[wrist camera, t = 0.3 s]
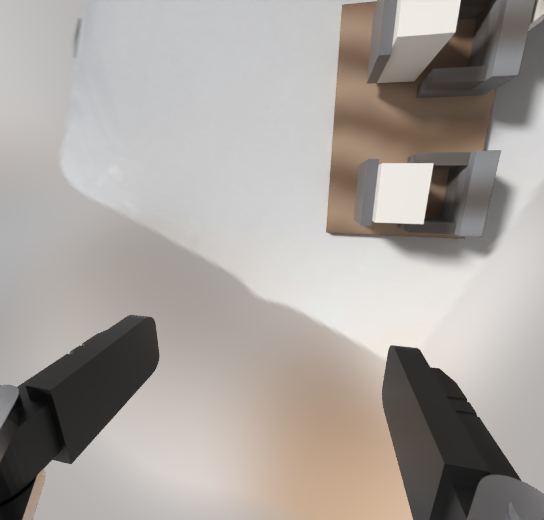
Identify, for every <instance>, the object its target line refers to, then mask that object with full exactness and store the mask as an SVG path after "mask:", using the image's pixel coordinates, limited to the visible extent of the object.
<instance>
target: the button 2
mask: <svg viewBox="0 0 544 520" xmlns="http://www.w3.org/2000/svg"><path fill="white" fill-rule="evenodd" d="M460 2H461V0H377V4H376V7H375V11H374V14H373V24H372V35H371V45H370V55H369V66H368V76H367V84H372V83H391V82H411V81H415V80H416V79H417V78H418V76H419V75H420V74H421V73H422V72H423V71H424V69H425V68H426V67H427V66H428V65H429V63H430V62H431V61H432V60H433V59H434V57H435V56H436V55H437V54H438V53H439V51H440V50H441V49H442V48H443V47H444V45H445V44H446V43H447V42H448V41H449V40H450V38H451V37H452V36H453V35H454V34H455V32H456V26H457V20H458V14H459V8H460Z"/></svg>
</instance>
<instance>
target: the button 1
mask: <svg viewBox="0 0 544 520" xmlns="http://www.w3.org/2000/svg"><path fill="white" fill-rule="evenodd" d="M433 164H434V163H382V164H379V159H367V160H365V161H364V162H363V163H361V164H360V165H359V169H358V179H357V189H356V200H355V210H354V220H355V221H356V222H357V223H358V224H360V225H361V226H372V221H373V222H375V223H403V224H424V218H425V212H426V206H427V200H428V194H429V188H430V182H431V176H432V170H433Z"/></svg>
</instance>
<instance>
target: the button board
mask: <svg viewBox="0 0 544 520" xmlns="http://www.w3.org/2000/svg"><path fill="white" fill-rule="evenodd" d="M376 4H377V1H375V2H365V3H355V4H346V5H342V16H341V30H340V44H339V58H338V72H337V86H336V100H335V115H334V129H333V143H332V157H331V171H330V185H329V199H328V213H327V228H326V232H329V233H351V234H374V235H396V236H419V237H441V238H464V239H465V236H473V237H482V232H483V228H484V223H485V219H486V215H487V210H488V206H489V201H490V197H491V193H492V188H493V184H494V179H495V175H496V171H497V166H498V162H499V157H500V153H501V150H489V151H483V149H484V144H485V139H486V135H487V130H488V125H489V120H490V116H491V111H492V106H493V101H494V97H495V92H496V88H497V87H499V86H500V85H502V84H504V83H506V82H507V81H509V80H511V79H512V78H514V77H516V76H517V75H518V74H519V69H520V65H521V61H522V56H523V52H524V47H525V43H526V39H527V34H528V31H530V30H531V29H532V28H534V27H535V26H536V25H537V24H539V23H540V22H541V21H543V20H544V0H461V2H460V8H459V14H458V20H457V26H456V32H455V34H454V35H453V36H452V37H451V38H450V40H449V41H448V42H447V43H446V44H445V45H444V47H443V48H442V49H441V50H440V51H439V53H438V54H437V55H436V56H435V57H434V59H433V60H432V61H431V62H430V63H429V65H428V66H427V67H426V68H425V69H424V71H423V72H422V73H421V74H420V75H419V76H418V78H417V79H416V80H415V81H411V82H391V83H372V84H367V76H368V66H369V55H370V45H371V35H372V24H373V14H374V11H375V7H376ZM367 159H379V164H382V163H434V164H433V170H432V176H431V182H430V188H429V194H428V200H427V206H426V212H425V218H424V224H403V223H375V222H373V221H372V226H361V225H360V224H358V223H357V222H356V221H355V220H354V210H355V200H356V189H357V179H358V169H359V165H360V164H361V163H363V162H364V161H365V160H367Z"/></svg>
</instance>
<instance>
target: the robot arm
mask: <svg viewBox="0 0 544 520" xmlns="http://www.w3.org/2000/svg"><path fill="white" fill-rule="evenodd" d="M158 361H159V349H158V340H157V332H156V325H155V321H154V319H153V318H152V317H146V316H137V315H129V316H127V317H126V318H124V319H123V320H121V321H120V322H118V323H117V324H115V325H114V326H112V327H111V328H110V329H108V330H106V331H103V332H101V333H98V334H96V335H95V336H93V337H92V338H90V339H89V340H87V341H86V342H84V343H83V344H82V346H78V347H77V348H75V349H74V350H72V351H71V352H70V354H66V355H65V356H63V357H62V358H60V359H59V360H57V361H56V362H54V363H53V364H51V365H50V366H48V367H47V368H45V369H44V370H42V371H41V372H39V373H38V374H36V375H35V376H33V377H32V378H30V379H28V380H27V381H26V382H24V383H22V384H21V385H19V386H18V387H16V386H13V385H0V520H33V518H34V514H35V511H36V508H37V504H38V501H39V498H40V494H41V491H42V487H43V485H44V481H45V470H44V468H45V466H46V465H47V464H48V463H49V462H50V461H51V460H56V461H60V462H64V463H69V464H72V463H73V462H74V460H75V459H76V458H77V457H78V456H79V455H80V454H81V453H82V452H83V450H84V449H85V448H86V447H87V446H88V445H89V444H90V443H91V442H92V440H93V439H94V438H95V437H96V436H97V434H99V432H101V430H102V429H103V428H104V427H105V426H106V425H107V424H108V423H109V421H110V420H111V419H112V418H113V417H114V416H115V415H116V414H117V413H118V411H119V410H120V409H121V408H122V407H123V406H124V405H125V404H126V403H127V401H128V400H129V399H130V398H131V397H132V396H133V395H134V394H135V393H136V391H137V390H138V389H139V388H140V387H141V386H142V385H143V384H144V383H145V381H146V380H147V379H148V378H149V377H150V376H151V375H152V373H153V372H154V371H155V369H156V367H157V365H158ZM382 400H383V408H384V412H385V416H386V419H387V423H388V427H389V431H390V435H391V438H392V442H393V446H394V449H395V453H396V457H397V461H398V464H399V468H400V472H401V476H402V479H403V483H404V487H405V490H406V494H407V497H408V501H409V505H410V509H411V513H412V516H413V520H544V494H543V493H542V492H540V491H538V490H537V489H535V488H534V487H532V486H530V485H528V484H527V483H524V482H522V481H521V479H520V478H519V476H518V475H517V473H516V472H515V470H514V469H513V467H512V466H511V464H510V463H509V461H508V460H507V458H506V457H505V455H504V454H503V453H502V451H501V449H500V448H499V446H498V445H497V443H496V442H495V440H494V439H493V437H492V436H491V434H490V433H489V431H488V430H487V429H486V427H485V425H484V424H483V422H482V421H481V419H480V418H479V417H477V415H476V412H475V410H474V409H473V407H472V406H471V404H470V403H469V402H467V398H466V397H465V395H464V394H463V393H462V391H461V389H460V388H459V387H458V385H457V384H456V382H454V381H453V380H452V379H451V378H450V377H449V376H447V375H446V374H445V373H444V372H443V371H442V370H440V369H438V368H430V366H429V365H428V363H427V361H426V360H425V358H424V356H423V354H422V353H421V351H420V350H419V349H418V348H411V347H402V346H393V345H391V346H390V348H389V351H388V356H387V362H386V369H385V375H384V381H383V389H382Z"/></svg>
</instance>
